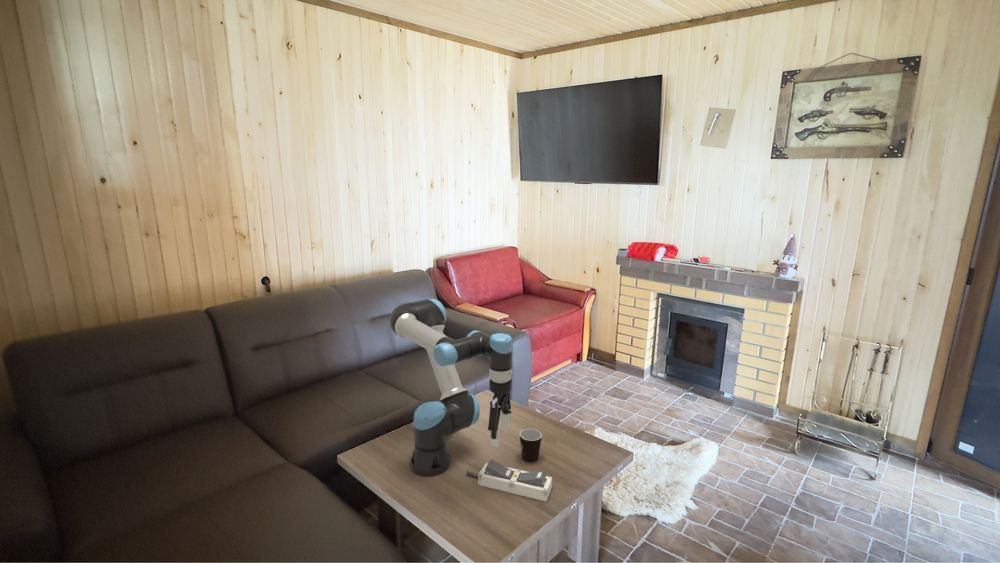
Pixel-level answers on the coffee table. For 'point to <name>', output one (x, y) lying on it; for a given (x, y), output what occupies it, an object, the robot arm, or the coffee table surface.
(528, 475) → the rocker
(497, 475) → the rocker
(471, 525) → the coffee table surface
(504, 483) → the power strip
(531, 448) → the coffee mug
